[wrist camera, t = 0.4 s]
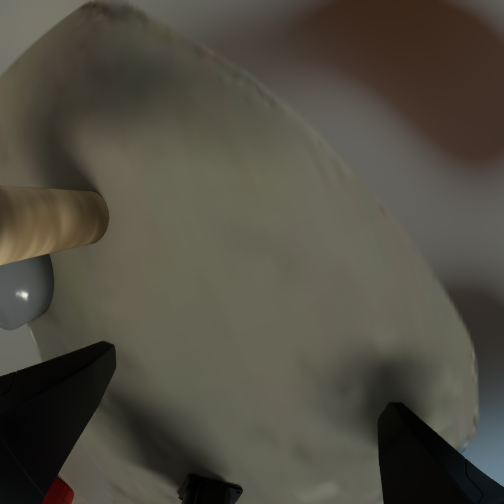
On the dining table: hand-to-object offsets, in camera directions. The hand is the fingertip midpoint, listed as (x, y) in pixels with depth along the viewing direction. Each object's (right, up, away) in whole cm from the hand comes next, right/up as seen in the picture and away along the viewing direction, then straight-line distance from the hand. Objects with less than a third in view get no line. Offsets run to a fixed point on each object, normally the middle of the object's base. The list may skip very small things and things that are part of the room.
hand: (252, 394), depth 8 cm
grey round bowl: (-24, +2, +15) cm, 28 cm away
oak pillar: (-14, +7, +14) cm, 21 cm away
